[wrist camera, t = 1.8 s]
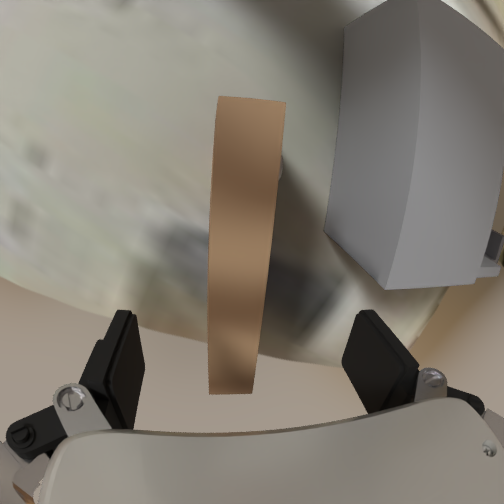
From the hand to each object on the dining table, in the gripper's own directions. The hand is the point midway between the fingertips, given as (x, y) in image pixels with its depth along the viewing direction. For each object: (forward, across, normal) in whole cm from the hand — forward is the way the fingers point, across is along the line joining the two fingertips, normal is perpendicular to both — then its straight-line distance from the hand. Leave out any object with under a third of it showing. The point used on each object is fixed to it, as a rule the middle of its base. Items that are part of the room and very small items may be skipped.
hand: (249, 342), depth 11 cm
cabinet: (+15, -20, -10) cm, 27 cm away
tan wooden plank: (+15, 0, -1) cm, 15 cm away
